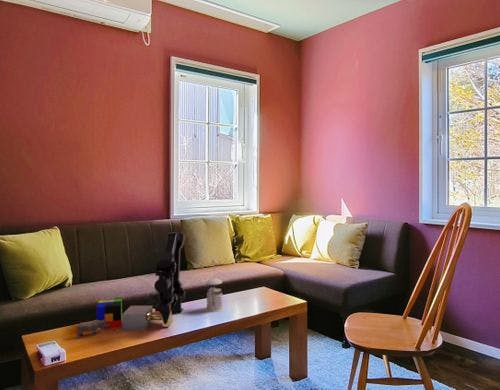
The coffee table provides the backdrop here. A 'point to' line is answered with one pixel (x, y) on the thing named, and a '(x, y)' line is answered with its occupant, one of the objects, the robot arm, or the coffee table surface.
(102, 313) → the puzzle toy
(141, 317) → the housing
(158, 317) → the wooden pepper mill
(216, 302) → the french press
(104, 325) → the rhino figurine
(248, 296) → the coffee table surface
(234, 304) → the coffee table surface
